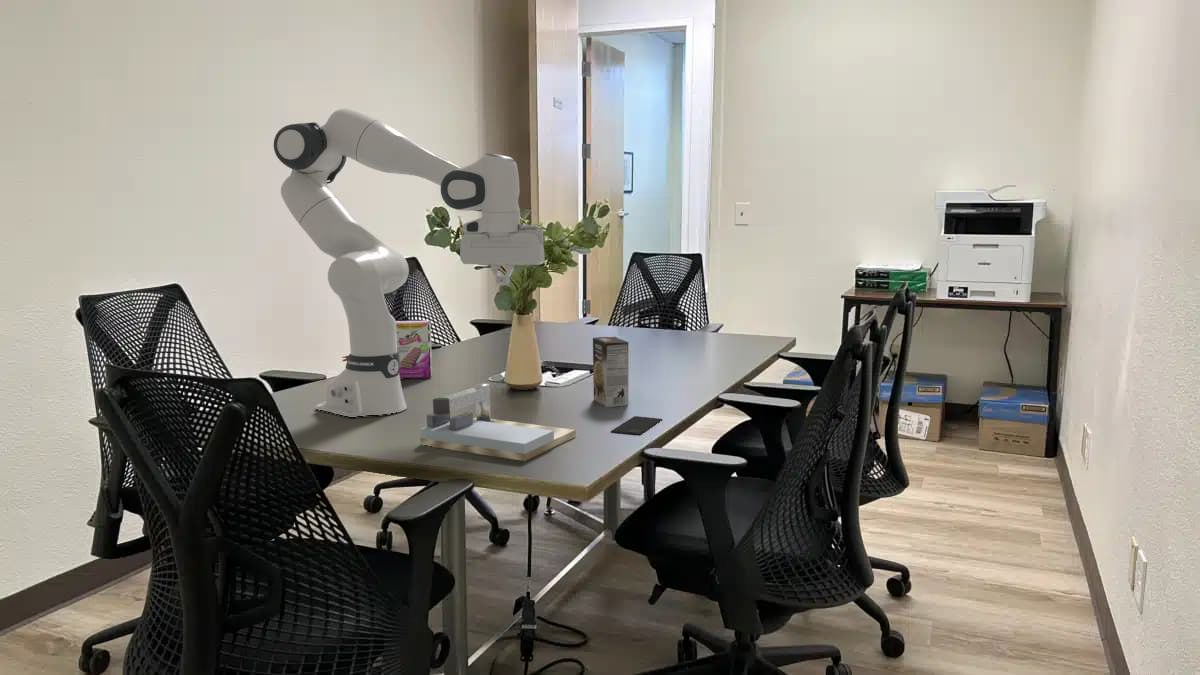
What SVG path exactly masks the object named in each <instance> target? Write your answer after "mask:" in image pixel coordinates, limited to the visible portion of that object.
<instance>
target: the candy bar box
mask: <svg viewBox="0 0 1200 675" xmlns="http://www.w3.org/2000/svg"><path fill="white" fill-rule="evenodd" d="M395 321H396V333H397V351H398V352H399V356H400V367H399V375H400V378H404V379H403V380H406V379H405V378H409V379H408V380H411V379H410V378H414V379H413V380H416V379H415V378H418V379H419V380H421V379H420V378H425V379H431V378H432V376H433V356H432V354H433V353H432V350H433V349H432V323H431V320H395ZM418 379H417V380H418Z"/></svg>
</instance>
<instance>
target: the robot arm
mask: <svg viewBox="0 0 1200 675" xmlns="http://www.w3.org/2000/svg"><path fill="white" fill-rule="evenodd" d="M273 150H274V154H275V155H276V157H277V159H278V160H279V161H280V162H281V163H282V164H283V165H284V166H285V167H287V168H289V169H291V173H290V175H289V176H288V177H287V178H286V179H285V180H284V181H283V182H282V184H281V187H280V194H281V198H282V200H283V202H284V204H285V205H286V207H287V209H288V210H289V212H290V214H291V215H292V217H293V218H294V219H295V221H296V222H297V224H298V225H299V226H300V227H301V228H302V230H303V231H304V232H305V233H306V234H307V236H309V238H310V239H311V240H312V242H313V243H314V244H315V245H316V246H317V248H318V250H321V252H323V254H326V255H327V256H330V257H332V258H334V259H335V260H334V261H332V263H331V264H330V265H329V267H328V271H327V281H328V285H329V287H330V289H331V290H332V291H333V293H334V294H336V295H337V296H338V297H339V299H340V302H341V305H342V306H343V309H344V312H345V316H346V318H347V323H348V334H349V348H350V351H349V352H350V353H349V354H348V355H345V356H342V357H341V358H342V360H341V361H342V362H346V364H345V369H344V370H342V371H341V372H340V373H339V374H338V375H337V376H336V377H334V378H333V379H332V380H331V381H330V382H329V383H328V384H327V386H326V390H325V400H324V401H322V402H320V403H317V404H316V406H315V409H316V408H319V409H323V410H327V411H330V412H335V413H339V414H343V415H347V416H361V415H379V416H383V415H382V414H387V415H392V414H391V413H393V414H396V412H397V413H400V412H403V411H404V410H406V409H407V407H408V406H407V404H406V400H405V397H404V396H405V395H404V392H403V388H402V382H401V379H400V375H399V367H400V356H399V352H398V351H397V333H396V321H397V320H396V319H395V317H394V316H393V315H392V314H391V313H390V311H389V308H388V305H387V303H386V299H385V294H389V293H392V292H394V291H396V290H398V289H399V288H400V287H402V286H403V285H404V284H405V283H406V282H407V280H408V277H409V274H410V273H409V272H410V269H409V263H408V261H407V259H406V258H405V256H403V255H402V254H401V253H399V252H398V251H395V250H393V249H392V248H390V247H389V246H387V245H386V244H385V243H384V242H382V241H381V240H380V239H379V238H378V237H377V236H375V235H374V234H372V232H371V231H369V230H368V229H366V227H365V226H364V225H362V224H361V223H360V222H359V221H357V220H356V218H355V216H353V214H351V212H350V211H349V210H348V209H347V207H346V206H345V205H344V204H343V202H341V200H339V198H338V197H337V196H336V194H335V193H334V192H333V191H332V189H331V188H330V187H329V185H328V184H331V183H333V182H334V180H335V178H336V176H337V175H338V174H339V173H340V172H341V171H342V170H343V168H344V167H345V164H346V162H347V158H349V159H351V160H354V161H356V162H357V163H359V164H361V165H363V166H366V167H368V168H371V169H373V170H375V171H380V172H381V173H382V172H383V173H388V174H395V175H396V174H398V175H409V176H414V177H418V178H423V179H425V180H427V181H429V182H432V183H434V184H436V185H438V186H440V195H441V198H442V200H443V202H444V204H446V205H447V206H448V207H449V208H452V209H454V210H457V211H467V212H468V211H474V212H481V217H479V218H477V219H473V220H471V221H469V222H465V223H463V225H462V232H463V233H464V234H463V235H462V236H461V238H460V244H459V258H460V259H459V260H460V261H461V262H462V264H463V265H490V270H491V272H492V273H493V275H494V277H495V284H496V285H510V283H511V276H512V274H513V272H514V271H515V266H516V265H518V266H519V265H520V266H522V265H525V266H539V265H542V264H543V263H544V262H545V259H546V258H545V248H544V238H545V236H544V233H545V232H544V230H543V228H542V227H540V226H538V225H537V224H521V209H520V206H519V205H520V204H519V196H520V190H521V189H520V176H519V169H518V165H517V162H516V161H515V159H513V158H512V157H511V156H508V155H507V156H506V155H503V154H497V153H496V154H495V153H484V154H483V155H482V156H481V157H480V158H479V159H477V160H475V162H472V163H471V164H467V165H465V166H463V167H462V166H460V165H457V164H456V163H453V162H451V161H449V160H446V159H445V158H442V157H440V156H438V155H436V154H435V153H432V152H430V151H428V150H427V149H425V148H424V147H422V146H421V145H419V144H417V142H414V141H413V140H411V139H410V138H408V137H407V136H405V135H404V134H402V133H401V132H400V131H398V130H397V129H395V128H394V127H392V126H390V125H389V124H386V123H384V122H383V121H380V120H379V119H377V118H374V117H373V116H370V115H367V114H364V113H362V112H359V111H355V110H352V109H348V108H339V109H337V110H335V111H334V112H332V114H330V116H329V117H328V119H327V121H326V122H325V124H323V125H320V124H319V123H317V122H304V123H303V122H302V123H301V122H300V123H292V124H288V125H285V126H283V127H281V128H280V129H279V130H278V131H277V133H276V134H275V136H274V139H273ZM502 265H505V266H504V268H505V270H507V271H506V272H505V275H502V274H501V273H500V271H499V269H500V268H501V266H502Z"/></svg>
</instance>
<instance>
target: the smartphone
mask: <svg viewBox="0 0 1200 675" xmlns="http://www.w3.org/2000/svg"><path fill="white" fill-rule="evenodd" d="M660 421H661V422H662V421H663V418H657V417H647V416H636V415H635V416H632V417H631V418H629V419H627V420H626V421H624V422H623V423H621V424H620V425H618V426H617V427H614V428H613V429H612V430H610V433H611V434H619V435H629V436H636V435H638V437H640V436H642V435H643V433H644V434H646V433H647V432H648V431H649V430H651V429H652V428H653V426H654V427H655V426H656V424H657V423H658V424H659V423H661V422H660ZM658 424H657V425H658ZM650 428H651V429H650Z"/></svg>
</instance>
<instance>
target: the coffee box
mask: <svg viewBox="0 0 1200 675" xmlns="http://www.w3.org/2000/svg"><path fill="white" fill-rule="evenodd" d="M629 346H630V345H629V341H626V340H624V339H621V338H619V337H617V336H599V337H592V363H593V364H592V367H593V368H592V370H593V371H592V372H593V375H592V376H593V378H592V379H593V381H592V382H593V400H594V401H595V402H596V403H599V404H600V405H602V406H603V407H605V408H611V407H623V406H629V365H630V364H629Z"/></svg>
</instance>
